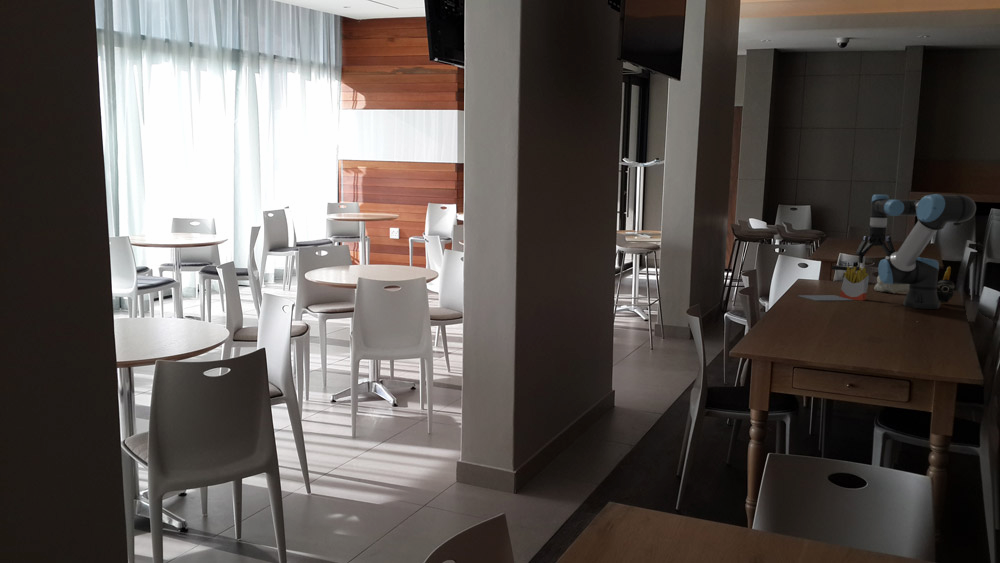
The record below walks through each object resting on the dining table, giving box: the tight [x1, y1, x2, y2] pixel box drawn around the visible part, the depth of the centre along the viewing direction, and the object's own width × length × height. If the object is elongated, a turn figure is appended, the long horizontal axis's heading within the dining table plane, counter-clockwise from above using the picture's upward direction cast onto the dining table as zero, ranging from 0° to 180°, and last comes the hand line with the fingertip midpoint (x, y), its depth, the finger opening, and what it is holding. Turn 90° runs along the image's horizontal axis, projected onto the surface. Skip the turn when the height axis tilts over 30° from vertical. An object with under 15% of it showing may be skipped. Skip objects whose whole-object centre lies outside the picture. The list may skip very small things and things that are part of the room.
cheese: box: [873, 275, 909, 295], centre depth 428 cm, size 15×7×15 cm
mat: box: [797, 294, 854, 302], centre depth 405 cm, size 16×20×1 cm
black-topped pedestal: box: [831, 260, 860, 282], centre depth 465 cm, size 28×26×13 cm
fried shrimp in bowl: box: [937, 266, 956, 304], centre depth 398 cm, size 9×11×18 cm
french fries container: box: [839, 267, 870, 301], centre depth 405 cm, size 5×11×18 cm, turn 45°
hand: (874, 269), depth 409 cm, fingers open, 13 cm apart
